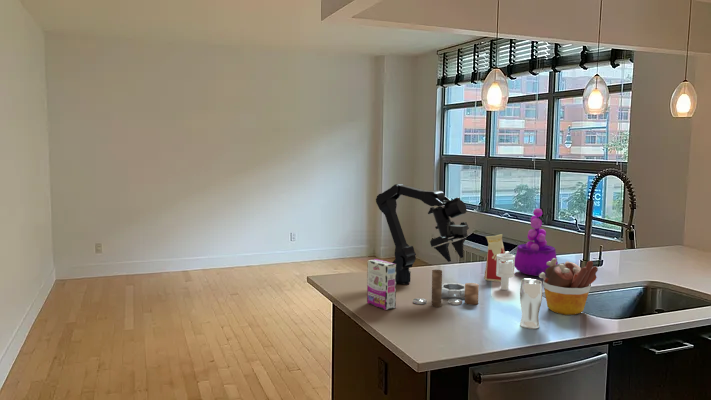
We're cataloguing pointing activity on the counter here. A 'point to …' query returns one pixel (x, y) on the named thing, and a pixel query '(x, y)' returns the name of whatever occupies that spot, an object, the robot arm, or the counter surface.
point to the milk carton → (493, 257)
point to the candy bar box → (381, 284)
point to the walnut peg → (436, 288)
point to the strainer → (505, 269)
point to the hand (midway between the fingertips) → (456, 259)
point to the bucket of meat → (567, 286)
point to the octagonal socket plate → (453, 291)
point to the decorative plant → (534, 249)
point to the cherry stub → (471, 293)
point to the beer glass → (530, 302)
